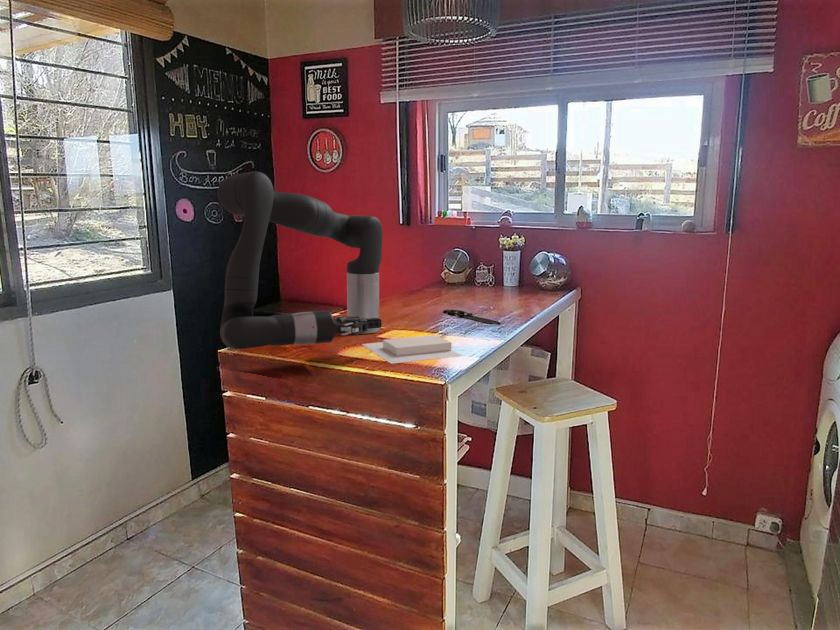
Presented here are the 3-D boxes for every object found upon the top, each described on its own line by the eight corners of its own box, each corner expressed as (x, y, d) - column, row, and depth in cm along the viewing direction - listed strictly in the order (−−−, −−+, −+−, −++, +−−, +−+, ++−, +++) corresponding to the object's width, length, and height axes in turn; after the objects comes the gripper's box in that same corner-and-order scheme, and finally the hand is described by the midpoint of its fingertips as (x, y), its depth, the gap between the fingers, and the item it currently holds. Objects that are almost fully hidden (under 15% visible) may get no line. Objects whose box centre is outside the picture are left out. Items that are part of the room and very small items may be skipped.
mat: (361, 347, 158) (361, 344, 158) (426, 340, 166) (426, 338, 166) (390, 366, 140) (391, 363, 140) (462, 358, 148) (462, 355, 148)
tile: (382, 339, 154) (435, 335, 160) (382, 347, 154) (435, 342, 161) (396, 348, 146) (451, 342, 152) (396, 356, 146) (451, 350, 153)
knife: (504, 325, 189) (504, 321, 189) (488, 327, 186) (488, 323, 186) (455, 312, 210) (455, 308, 210) (440, 313, 206) (440, 309, 206)
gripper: (319, 317, 134) (391, 312, 141) (303, 307, 145) (370, 303, 153) (319, 350, 135) (390, 343, 143) (303, 337, 147) (370, 332, 154)
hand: (380, 322), depth 148 cm, fingers closed
